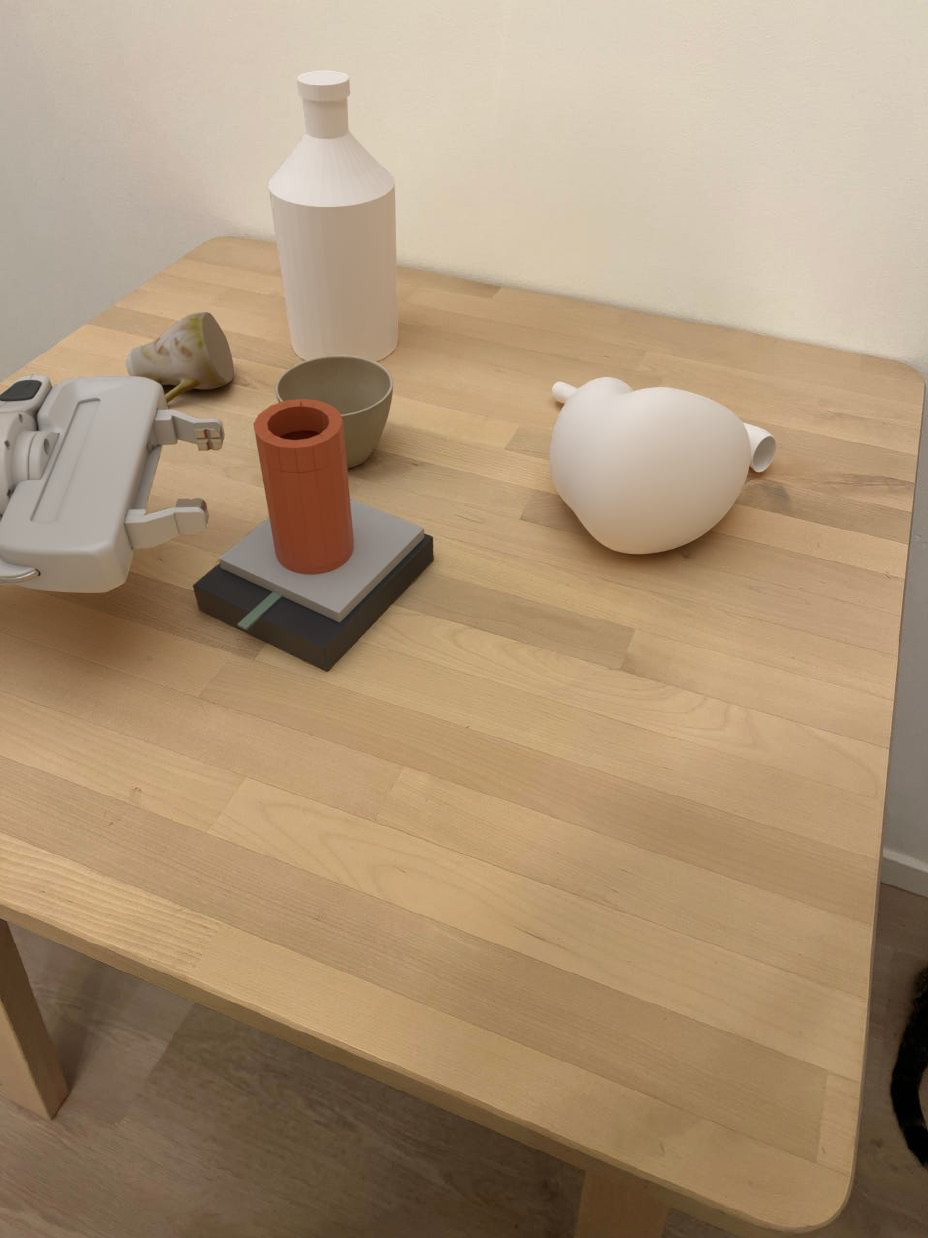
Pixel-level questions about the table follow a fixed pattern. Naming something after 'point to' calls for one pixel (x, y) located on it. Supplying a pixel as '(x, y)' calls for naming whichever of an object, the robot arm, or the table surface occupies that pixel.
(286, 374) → the olive grey bowl
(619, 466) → the stomach
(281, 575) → the scale
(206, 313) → the mug
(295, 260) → the bottle
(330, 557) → the jar
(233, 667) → the table surface
